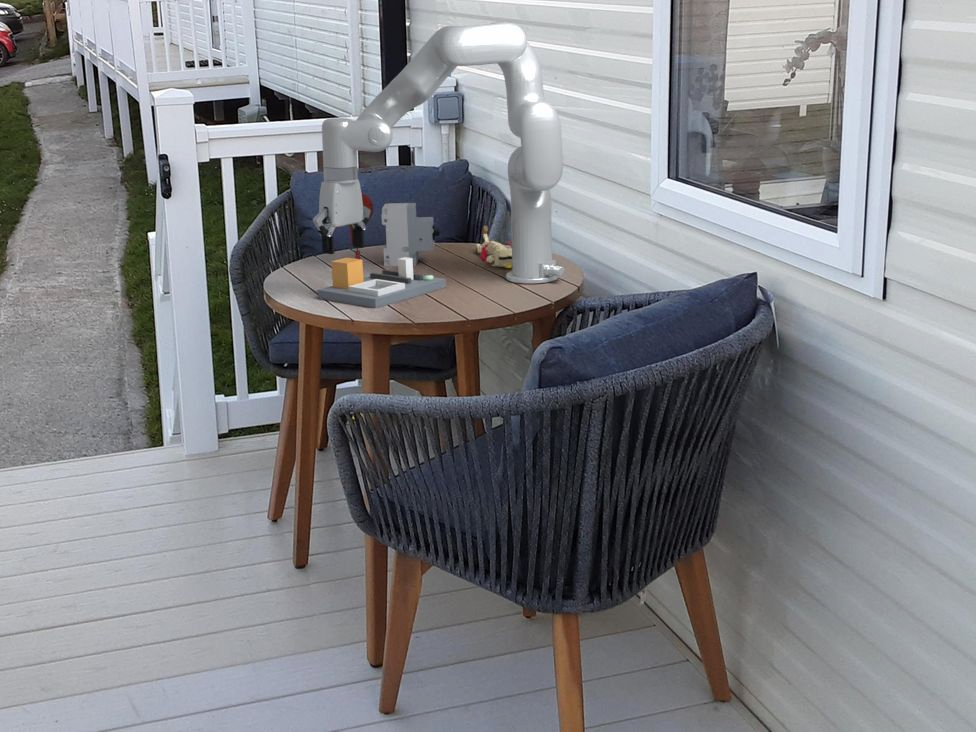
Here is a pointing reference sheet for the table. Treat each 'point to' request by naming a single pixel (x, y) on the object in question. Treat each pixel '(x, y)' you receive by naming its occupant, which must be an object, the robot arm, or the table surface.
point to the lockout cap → (347, 272)
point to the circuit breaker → (406, 233)
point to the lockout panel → (383, 289)
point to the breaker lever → (405, 267)
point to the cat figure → (494, 251)
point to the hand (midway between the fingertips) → (343, 250)
